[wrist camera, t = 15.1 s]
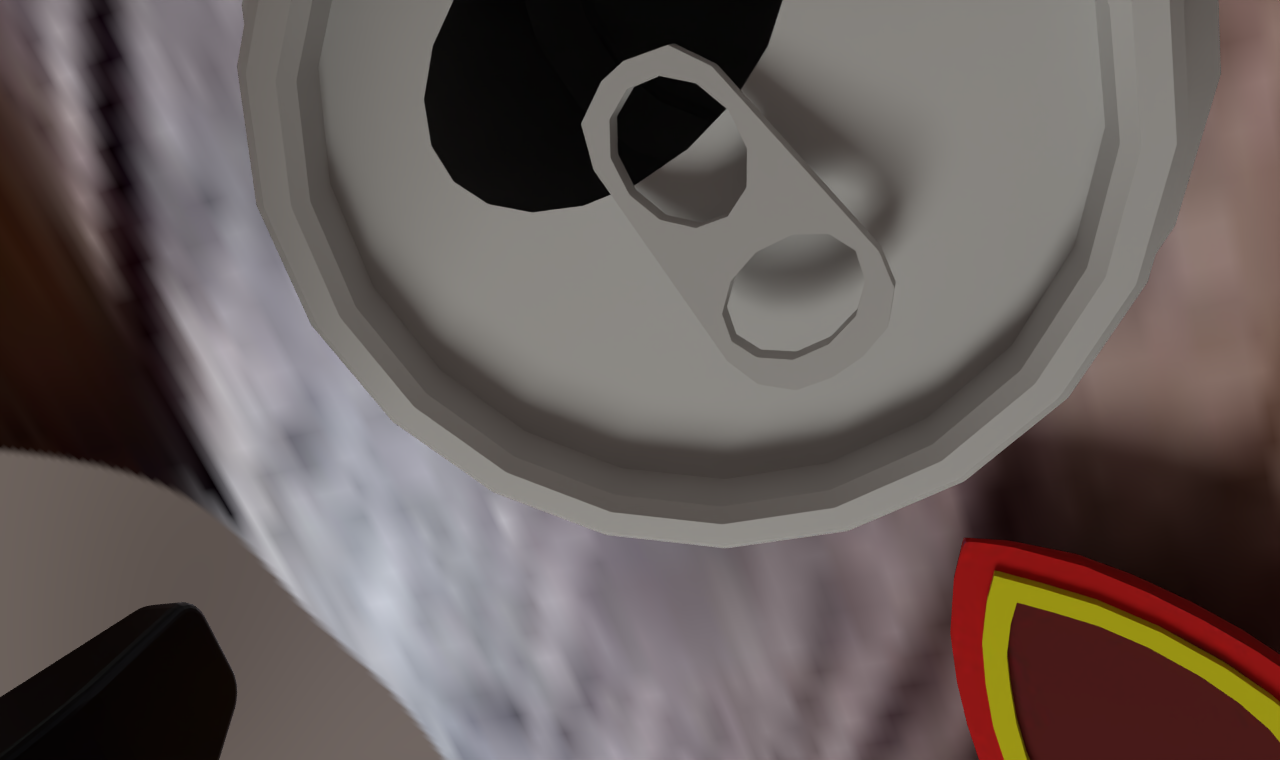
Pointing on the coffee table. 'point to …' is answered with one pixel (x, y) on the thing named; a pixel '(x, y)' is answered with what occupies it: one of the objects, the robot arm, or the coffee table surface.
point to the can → (721, 233)
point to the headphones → (1101, 664)
